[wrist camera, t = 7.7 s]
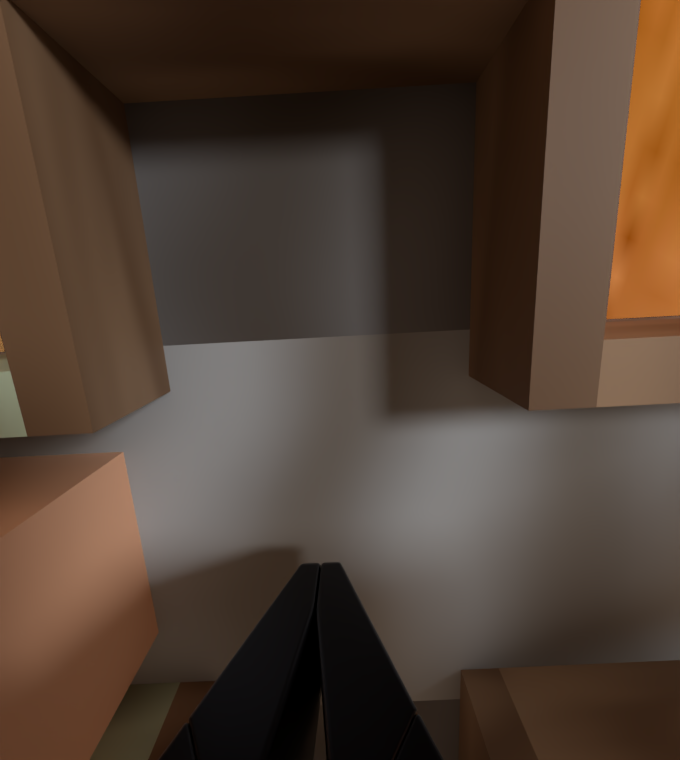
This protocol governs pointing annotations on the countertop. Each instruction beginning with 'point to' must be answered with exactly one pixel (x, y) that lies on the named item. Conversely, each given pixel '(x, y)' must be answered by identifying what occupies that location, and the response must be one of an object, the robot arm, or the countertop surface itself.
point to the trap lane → (355, 344)
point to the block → (68, 602)
